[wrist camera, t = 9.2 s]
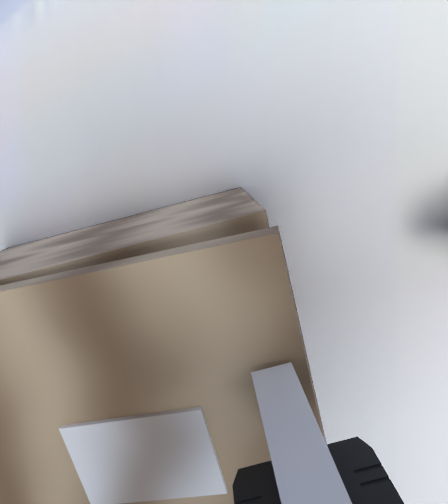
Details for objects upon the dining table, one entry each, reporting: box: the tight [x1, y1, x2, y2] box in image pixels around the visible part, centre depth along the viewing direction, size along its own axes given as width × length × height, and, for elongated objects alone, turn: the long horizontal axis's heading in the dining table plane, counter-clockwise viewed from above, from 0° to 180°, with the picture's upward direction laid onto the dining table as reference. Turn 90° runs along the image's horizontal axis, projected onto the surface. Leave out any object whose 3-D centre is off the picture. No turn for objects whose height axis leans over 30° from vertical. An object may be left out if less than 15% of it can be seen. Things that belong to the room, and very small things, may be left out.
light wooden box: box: [0, 187, 269, 285], centre depth 24 cm, size 16×12×10 cm
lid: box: [0, 226, 326, 504], centre depth 17 cm, size 16×12×1 cm
